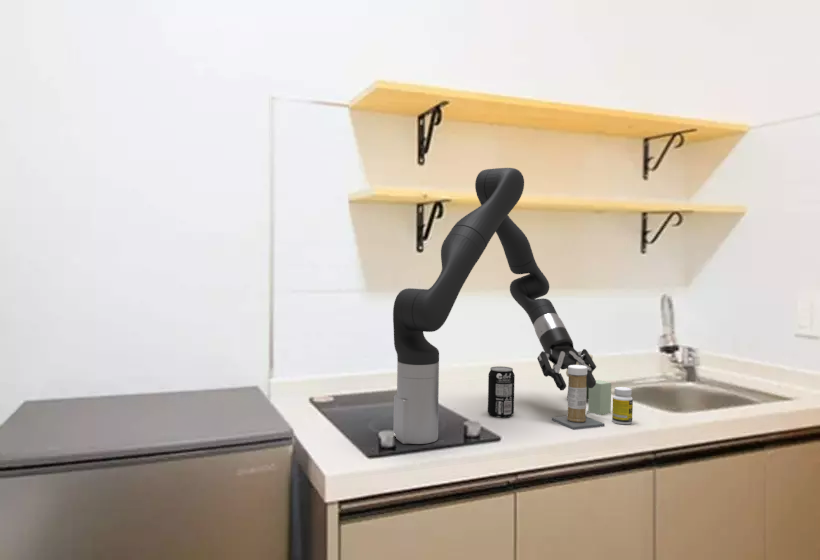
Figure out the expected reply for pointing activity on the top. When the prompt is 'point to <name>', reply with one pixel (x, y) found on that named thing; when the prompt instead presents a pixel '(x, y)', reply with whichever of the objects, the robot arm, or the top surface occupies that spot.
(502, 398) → the beverage can
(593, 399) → the sage block
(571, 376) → the sprinkles bottle
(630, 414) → the supplement bottle
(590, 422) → the slate coaster
